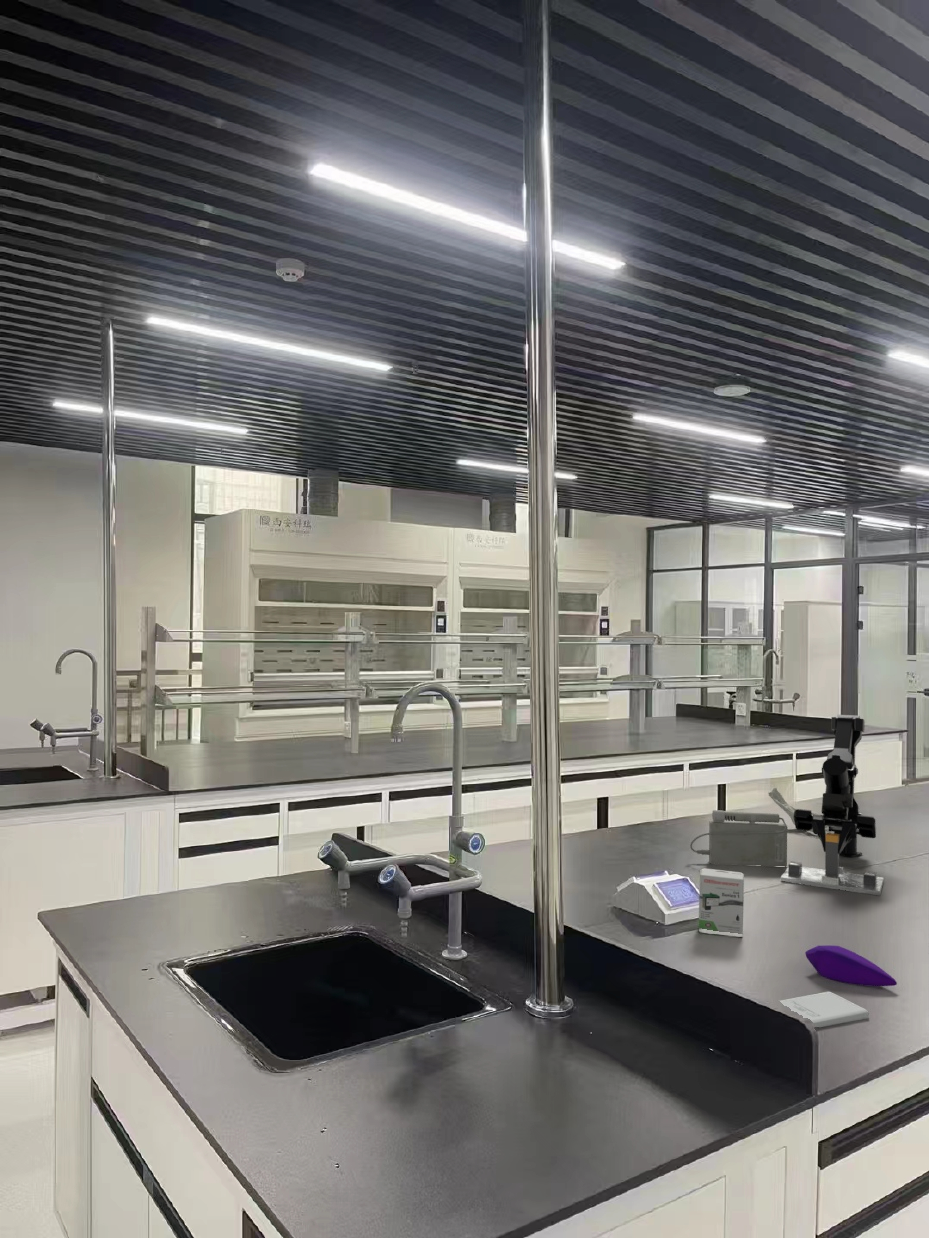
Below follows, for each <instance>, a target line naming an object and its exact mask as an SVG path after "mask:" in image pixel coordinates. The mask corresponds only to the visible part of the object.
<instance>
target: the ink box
mask: <svg viewBox="0 0 929 1238" xmlns="http://www.w3.org/2000/svg"><path fill="white" fill-rule="evenodd" d="M699 871H700V872H699V890H698V891H699V892H698V893H699V896H698V897H699V898H698V899H699V901H698V928H702V929H707V930H713V931H719V932H730V933H738V934H743V935H744V906H745V905H744V902H745V901H744V900H745V899H744V898H745V896H744V895H745V893H744V892H745V886H744V885H745V876H744V875H745V874H744V873H742V872H739V871H731V870H722V869H713V868H705V867H704V868H702V869H700V870H699Z"/></svg>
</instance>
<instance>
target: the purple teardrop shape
mask: <svg viewBox="0 0 929 1238" xmlns="http://www.w3.org/2000/svg"><path fill="white" fill-rule="evenodd" d="M804 954H805V958H806V959H807V960H808V962H809V963H810V964H811V965H812V967H813V968H814V969H815V971H816V973H818V974H819V975H820V976H822V977H823V978H826V979H829V980H832V981H834V982H835V981H836V982H839V983H845V984H850V985H855V986H866V987H894V986H896V985H898V982H897V981H896V979H895V978H894V977H892V976H891V975H890V974H889V973H888V972H886V971H885V970H884V969H882V968H881V967H880V966H878V965H876V964H875V963H874V962H872V961H870V960H869V959H867V958H865V957H864V956H862V955H860V954H857V953H856V952H853V951H852V950H850V949H847V948H845V947H842V946H839V945H815V947H812V948H809V949H808V950H807V951H805V953H804Z"/></svg>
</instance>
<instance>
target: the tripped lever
mask: <svg viewBox="0 0 929 1238" xmlns="http://www.w3.org/2000/svg"><path fill="white" fill-rule="evenodd" d="M838 844H839V834H834V832H831V833H828V832H827V833H826V847H825V849H826V850H825V852H824V854H825V857H824V858H825V859H824V861H825V863H824V864H825V865H824V866H825V868H824V870H825V876H831V877H839V867H840V855H839V854H838Z"/></svg>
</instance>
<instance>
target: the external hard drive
mask: <svg viewBox="0 0 929 1238" xmlns="http://www.w3.org/2000/svg"><path fill="white" fill-rule="evenodd" d="M779 1001H780V1002H781V1003H782V1004H783V1005H784V1006H787V1007H789V1008H790V1009H791V1011H794V1012H797V1013H798V1014H799V1015H802V1016H803V1018H808V1019H810V1020H811V1021H812V1022H813V1023H814V1024H815V1025H816V1027H819V1028H823V1027H829V1026H834V1025H839V1024H844V1023H849V1022H854V1021H860V1020H864V1019H865V1020H866V1019H869V1011H868V1010H867V1009H866V1008H864V1007H862V1006H860V1005H858V1004H856V1003H853V1002H852V1001H850V1000H848V999H846V998H844V997H842V996H840V995H838V994H836V993H833V992H831V991H823V992H820V993H815V994H813V993H812V994H808V995H802V996H797V997H792V998H787V999H781V1000H779Z"/></svg>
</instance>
